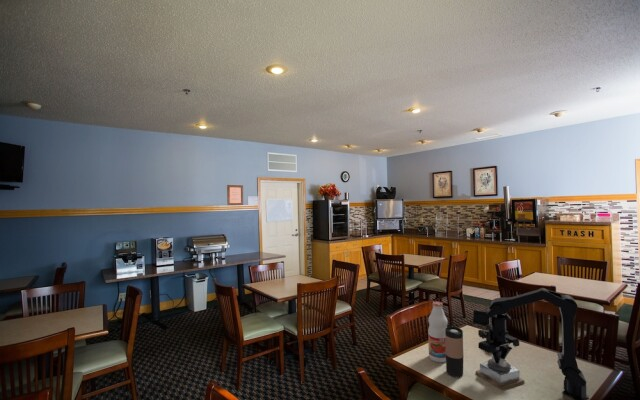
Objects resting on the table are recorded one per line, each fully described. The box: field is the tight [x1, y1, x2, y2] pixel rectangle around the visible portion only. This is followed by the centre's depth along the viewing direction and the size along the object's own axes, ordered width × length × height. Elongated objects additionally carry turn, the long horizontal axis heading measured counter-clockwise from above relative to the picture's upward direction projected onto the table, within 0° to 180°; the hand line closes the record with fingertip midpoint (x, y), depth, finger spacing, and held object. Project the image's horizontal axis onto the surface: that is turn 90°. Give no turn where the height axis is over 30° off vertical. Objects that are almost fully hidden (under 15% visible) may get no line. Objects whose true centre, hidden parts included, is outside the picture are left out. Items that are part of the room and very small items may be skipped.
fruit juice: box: [427, 301, 449, 363], centre depth 164 cm, size 9×9×28 cm
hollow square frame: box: [479, 360, 521, 385], centre depth 146 cm, size 11×11×4 cm
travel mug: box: [445, 326, 464, 378], centre depth 150 cm, size 8×8×20 cm
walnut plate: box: [475, 369, 526, 391], centre depth 146 cm, size 14×13×1 cm
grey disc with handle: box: [487, 355, 512, 372], centre depth 146 cm, size 9×9×7 cm
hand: (499, 362), depth 146 cm, fingers open, 2 cm apart
